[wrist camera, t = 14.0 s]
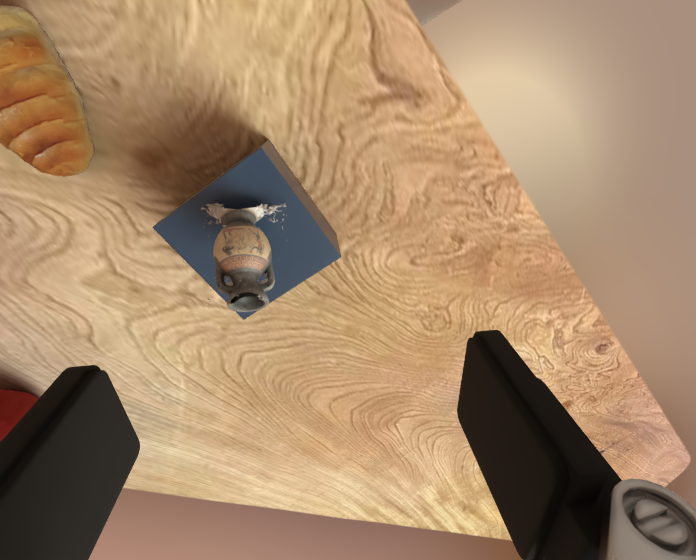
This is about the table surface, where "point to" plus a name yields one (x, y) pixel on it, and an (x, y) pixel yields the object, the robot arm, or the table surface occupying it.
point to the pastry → (39, 99)
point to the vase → (243, 256)
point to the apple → (13, 409)
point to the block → (247, 192)
